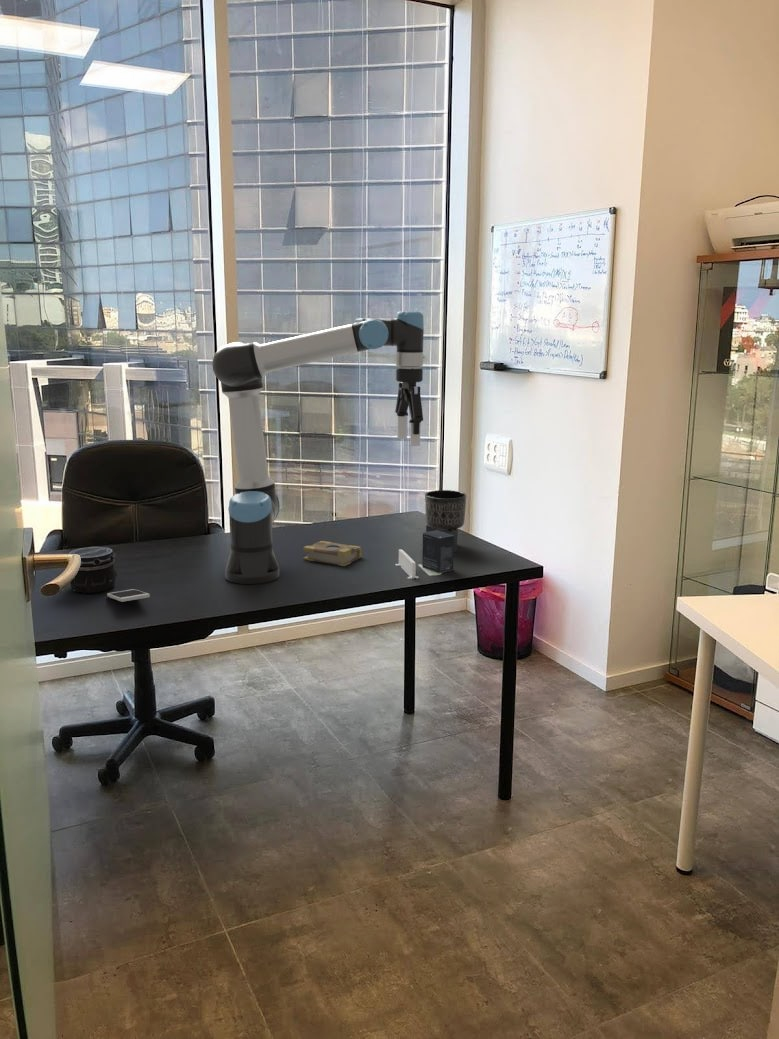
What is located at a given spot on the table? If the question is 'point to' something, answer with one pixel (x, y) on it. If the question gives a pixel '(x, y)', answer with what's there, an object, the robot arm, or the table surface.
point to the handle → (407, 564)
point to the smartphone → (128, 595)
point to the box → (438, 551)
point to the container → (94, 570)
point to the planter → (445, 512)
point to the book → (332, 553)
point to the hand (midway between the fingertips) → (408, 442)
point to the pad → (429, 571)
